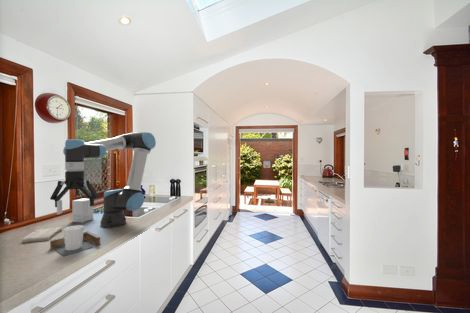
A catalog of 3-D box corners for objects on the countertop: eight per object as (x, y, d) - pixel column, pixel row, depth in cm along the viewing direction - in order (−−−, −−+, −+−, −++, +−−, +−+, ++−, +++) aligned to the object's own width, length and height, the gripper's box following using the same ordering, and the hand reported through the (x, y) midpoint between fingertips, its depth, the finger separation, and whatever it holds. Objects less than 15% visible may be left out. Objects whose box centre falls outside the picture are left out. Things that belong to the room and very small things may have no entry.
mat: (83, 241, 114) (83, 241, 114) (92, 247, 107) (92, 246, 107) (54, 249, 104) (54, 248, 104) (63, 256, 97) (63, 255, 97)
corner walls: (88, 238, 118) (88, 231, 118) (100, 244, 110) (100, 237, 110) (50, 248, 105) (50, 240, 105) (60, 256, 97) (60, 248, 97)
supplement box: (93, 219, 154) (94, 198, 154) (83, 222, 146) (83, 201, 146) (83, 218, 156) (83, 197, 156) (71, 222, 147) (71, 200, 147)
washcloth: (63, 230, 132) (63, 225, 132) (49, 241, 115) (49, 235, 115) (39, 232, 128) (39, 227, 128) (21, 244, 111) (21, 238, 111)
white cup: (70, 252, 100) (70, 231, 100) (59, 249, 103) (60, 229, 103) (87, 246, 108) (87, 226, 108) (77, 243, 111) (77, 224, 111)
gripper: (40, 171, 100) (40, 216, 100) (98, 170, 104) (98, 214, 104) (51, 170, 107) (51, 212, 107) (105, 169, 111) (105, 210, 112)
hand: (74, 213), depth 106 cm, fingers open, 13 cm apart
